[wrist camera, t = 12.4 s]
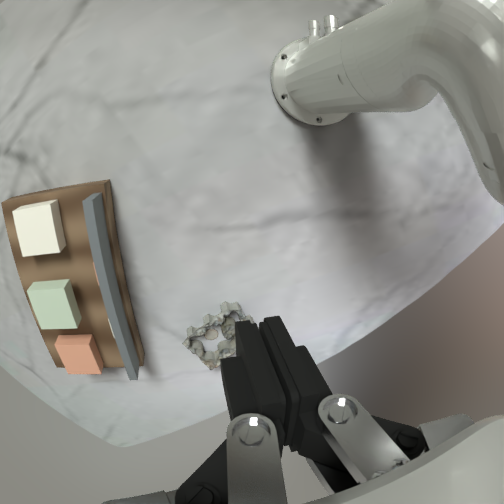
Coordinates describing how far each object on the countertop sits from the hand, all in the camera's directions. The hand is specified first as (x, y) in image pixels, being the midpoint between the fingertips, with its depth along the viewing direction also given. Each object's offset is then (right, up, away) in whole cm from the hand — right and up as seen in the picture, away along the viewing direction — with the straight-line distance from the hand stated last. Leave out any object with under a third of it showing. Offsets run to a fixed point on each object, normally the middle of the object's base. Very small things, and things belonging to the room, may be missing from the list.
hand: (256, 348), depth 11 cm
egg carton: (-5, -8, +35) cm, 36 cm away
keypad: (-26, -1, +27) cm, 37 cm away
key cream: (-27, +7, +20) cm, 34 cm away
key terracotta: (-26, -11, +27) cm, 40 cm away
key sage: (-26, -3, +22) cm, 34 cm away
